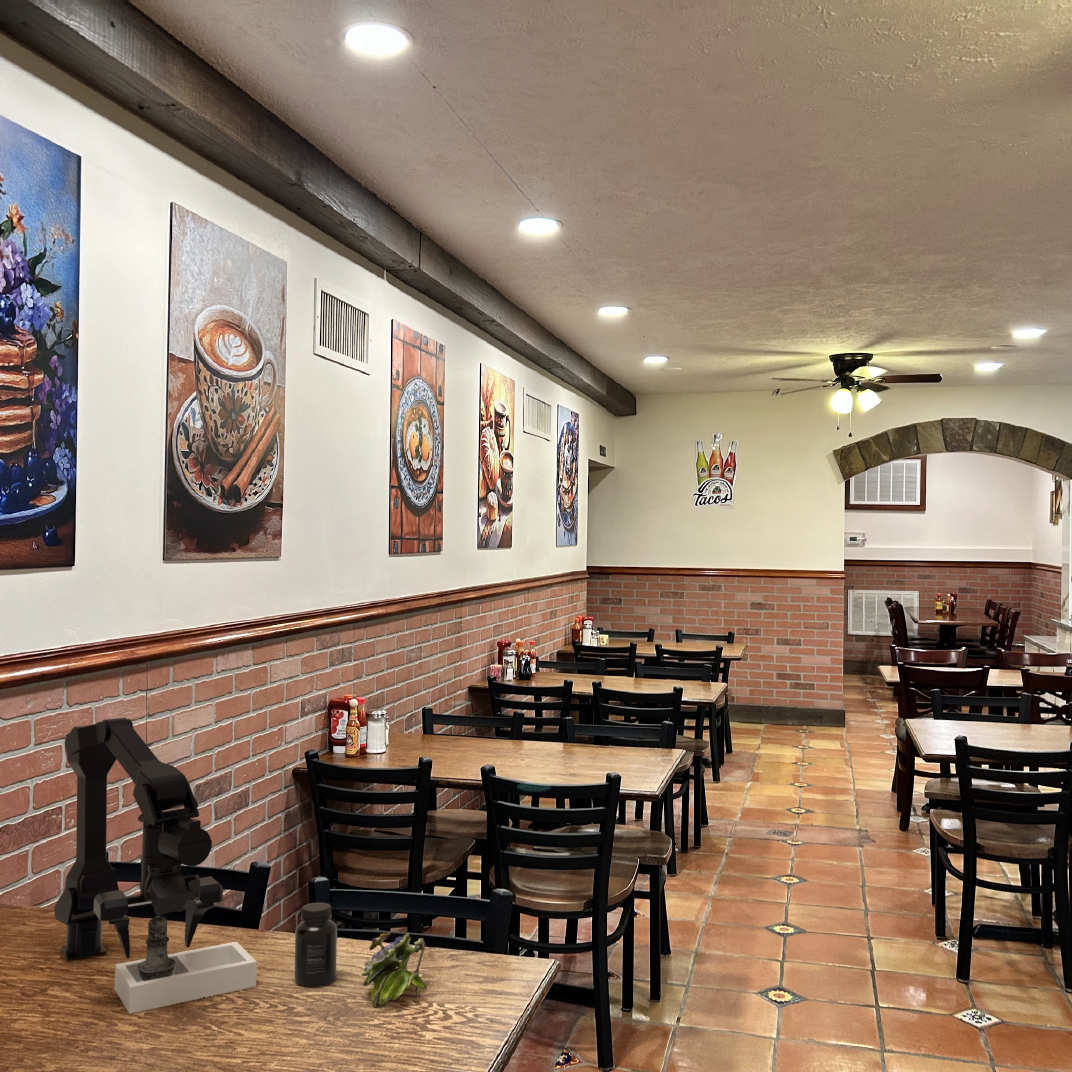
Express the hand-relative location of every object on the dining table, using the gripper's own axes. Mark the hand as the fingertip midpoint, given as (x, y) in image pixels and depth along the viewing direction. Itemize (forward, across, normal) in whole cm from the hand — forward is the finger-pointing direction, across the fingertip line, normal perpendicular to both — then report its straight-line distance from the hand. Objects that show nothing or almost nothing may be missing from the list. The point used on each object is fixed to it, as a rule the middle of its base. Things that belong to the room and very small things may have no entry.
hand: (157, 952), depth 162 cm
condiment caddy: (+7, +5, 0) cm, 8 cm away
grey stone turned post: (+6, 0, 0) cm, 6 cm away
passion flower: (+7, +33, -20) cm, 39 cm away
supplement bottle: (+7, +24, -8) cm, 26 cm away
